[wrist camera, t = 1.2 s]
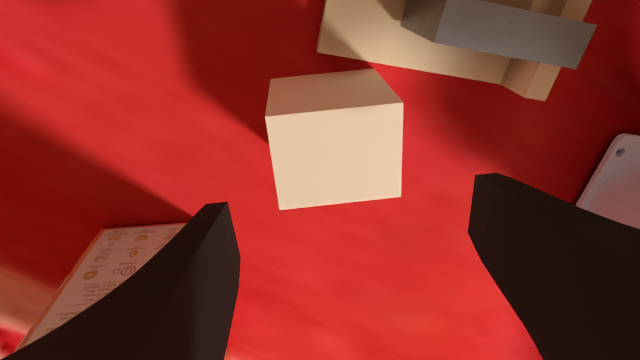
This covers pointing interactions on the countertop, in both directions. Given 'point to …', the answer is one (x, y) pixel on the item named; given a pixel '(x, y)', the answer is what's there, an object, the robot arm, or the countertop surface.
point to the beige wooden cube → (334, 138)
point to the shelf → (421, 54)
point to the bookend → (499, 30)
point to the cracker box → (102, 272)
